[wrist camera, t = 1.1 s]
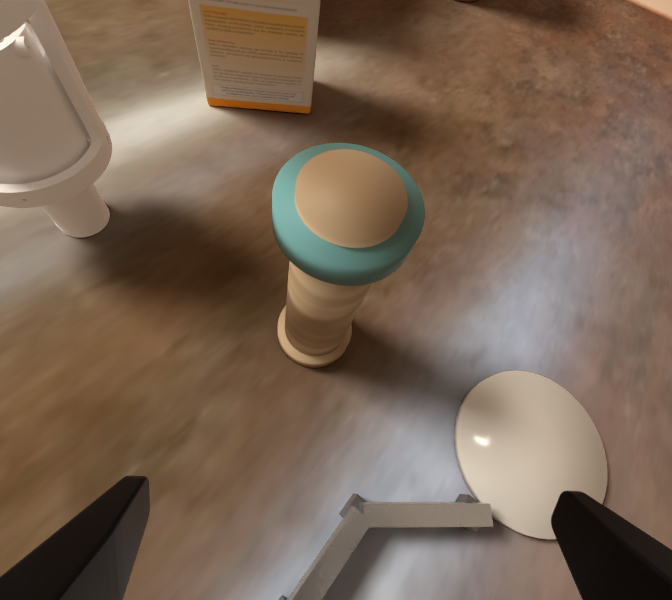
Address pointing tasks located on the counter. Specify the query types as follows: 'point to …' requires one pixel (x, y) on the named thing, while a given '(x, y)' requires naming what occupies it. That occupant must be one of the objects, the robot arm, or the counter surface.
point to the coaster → (527, 449)
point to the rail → (383, 515)
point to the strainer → (48, 124)
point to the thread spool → (338, 241)
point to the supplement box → (257, 52)
